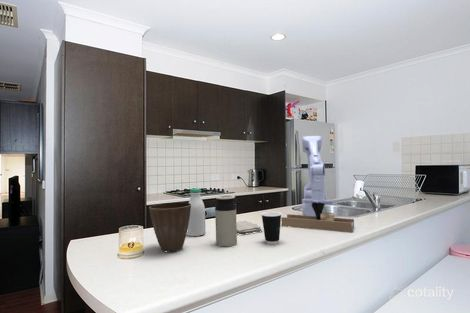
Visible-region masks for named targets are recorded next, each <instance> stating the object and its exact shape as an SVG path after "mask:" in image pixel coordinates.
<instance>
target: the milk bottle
mask: <svg viewBox="0 0 470 313" xmlns="http://www.w3.org/2000/svg"><path fill="white" fill-rule="evenodd" d="M189 193H190V198H189V201H188V203H190V204H191V211H190V219H189V225H188V229H187V235H188V236H189V235H190V236H189V237H193V236H197V237H200V236H199V235H203V234H205V235H206V211H205V208H206V207H205V204H204V201H203V199H202V196H201V194H202V188H199V187H198V188H197V187H196V188H195V187H194V188H190V190H189ZM203 236H204V235H203Z"/></svg>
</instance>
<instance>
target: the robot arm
mask: <svg viewBox="0 0 470 313" xmlns="http://www.w3.org/2000/svg"><path fill="white" fill-rule="evenodd" d="M301 138H302V139H301V146H302V151H303V153H305V154H306V156H307V157H306V158H307V168H308V169H307V171H308V173H307V174H308V183H307V184H306V185H304V187H303V197H304V198H302V199H301V203H302V206H301V208H302V215H306V216H316V218H317V220H320V219H321V215H320V214H321V213H323V211H324V210H323V209H324V208H325V206H326V205H331V206H334V205H335V204H336V200H335V199H328V198H327V199H325V175H326V167H325V166H326V165H325V164H324V163H323V161H322V156H321V154H320V152H321V149H322V145H323V142H322V140H323V139H322V136H321V135H302V137H301Z"/></svg>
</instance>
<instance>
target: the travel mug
mask: <svg viewBox="0 0 470 313" xmlns="http://www.w3.org/2000/svg"><path fill="white" fill-rule="evenodd" d="M235 198H236V196H235V195H227V194H226V195H217V196H215V200H216V203H215V205H214V209H215V211H214V212H215V216H214V218H215V219H214V220H215V244H216V245H217V246H219V245H220V246H219V247H223V246H227V247H233V246H235V245H237V243H238V234H237V225H236V222H237V204H236V203H235ZM232 245H233V246H232Z"/></svg>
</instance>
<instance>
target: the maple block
mask: <svg viewBox="0 0 470 313" xmlns="http://www.w3.org/2000/svg"><path fill="white" fill-rule="evenodd" d="M320 215H321V220H325V221H334V218H335V213H334V212H323V211H322V213H321V214H320Z"/></svg>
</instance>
